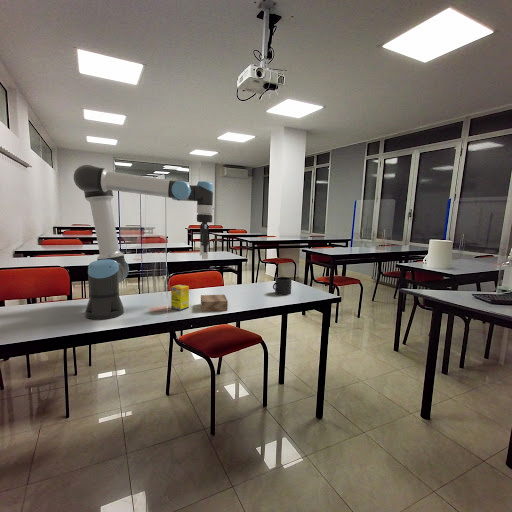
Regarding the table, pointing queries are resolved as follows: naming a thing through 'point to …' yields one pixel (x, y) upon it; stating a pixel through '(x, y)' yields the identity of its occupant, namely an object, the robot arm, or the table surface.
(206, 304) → the walnut block
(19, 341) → the table surface
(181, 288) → the supplement box
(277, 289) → the mug
